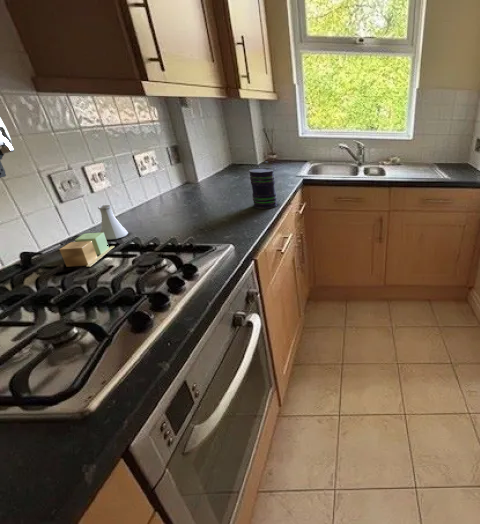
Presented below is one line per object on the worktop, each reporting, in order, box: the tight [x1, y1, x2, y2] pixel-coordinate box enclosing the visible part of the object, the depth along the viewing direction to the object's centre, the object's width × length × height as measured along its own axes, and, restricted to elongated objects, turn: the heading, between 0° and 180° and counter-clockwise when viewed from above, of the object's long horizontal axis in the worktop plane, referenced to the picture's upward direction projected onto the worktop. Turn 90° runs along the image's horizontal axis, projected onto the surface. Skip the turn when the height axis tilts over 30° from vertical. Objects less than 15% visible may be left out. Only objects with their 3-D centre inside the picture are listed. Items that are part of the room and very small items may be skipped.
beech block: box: [58, 241, 98, 268], centre depth 88 cm, size 5×5×5 cm
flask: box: [97, 204, 129, 240], centre depth 105 cm, size 7×7×10 cm
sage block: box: [74, 232, 110, 256], centre depth 95 cm, size 5×5×5 cm
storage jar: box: [249, 161, 278, 210], centre depth 139 cm, size 10×10×18 cm
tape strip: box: [85, 245, 115, 268], centre depth 93 cm, size 1×14×1 cm, turn 13°
